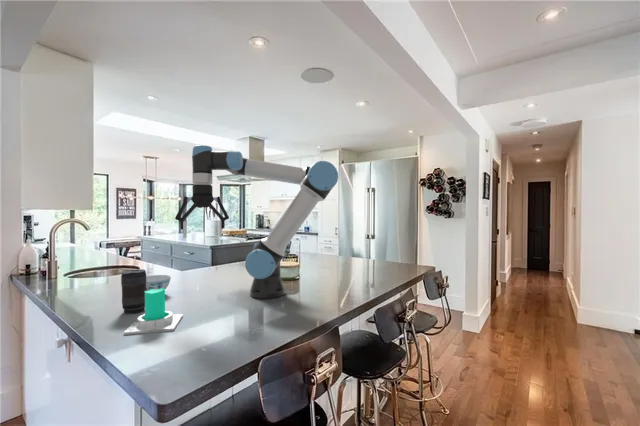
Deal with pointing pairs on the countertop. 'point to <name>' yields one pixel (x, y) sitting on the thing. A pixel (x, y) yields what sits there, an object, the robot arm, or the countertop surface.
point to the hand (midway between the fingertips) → (203, 237)
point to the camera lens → (133, 290)
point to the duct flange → (154, 324)
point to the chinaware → (157, 281)
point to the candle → (154, 304)
